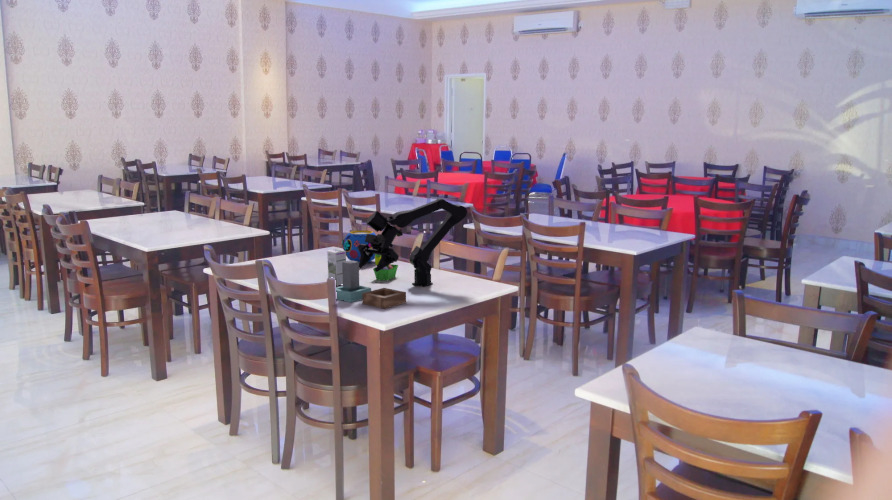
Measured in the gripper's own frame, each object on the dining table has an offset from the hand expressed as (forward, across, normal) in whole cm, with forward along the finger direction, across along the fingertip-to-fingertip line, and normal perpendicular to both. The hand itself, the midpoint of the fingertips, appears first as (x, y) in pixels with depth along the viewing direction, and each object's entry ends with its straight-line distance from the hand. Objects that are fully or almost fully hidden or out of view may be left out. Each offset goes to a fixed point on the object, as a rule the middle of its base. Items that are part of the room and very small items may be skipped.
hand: (367, 269), depth 272 cm
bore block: (+12, +16, +1) cm, 20 cm away
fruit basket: (-10, -14, +23) cm, 29 cm away
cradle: (+13, -1, 0) cm, 13 cm away
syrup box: (+5, -21, +8) cm, 23 cm away
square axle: (+12, 0, 0) cm, 12 cm away
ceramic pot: (-22, -47, +36) cm, 63 cm away
